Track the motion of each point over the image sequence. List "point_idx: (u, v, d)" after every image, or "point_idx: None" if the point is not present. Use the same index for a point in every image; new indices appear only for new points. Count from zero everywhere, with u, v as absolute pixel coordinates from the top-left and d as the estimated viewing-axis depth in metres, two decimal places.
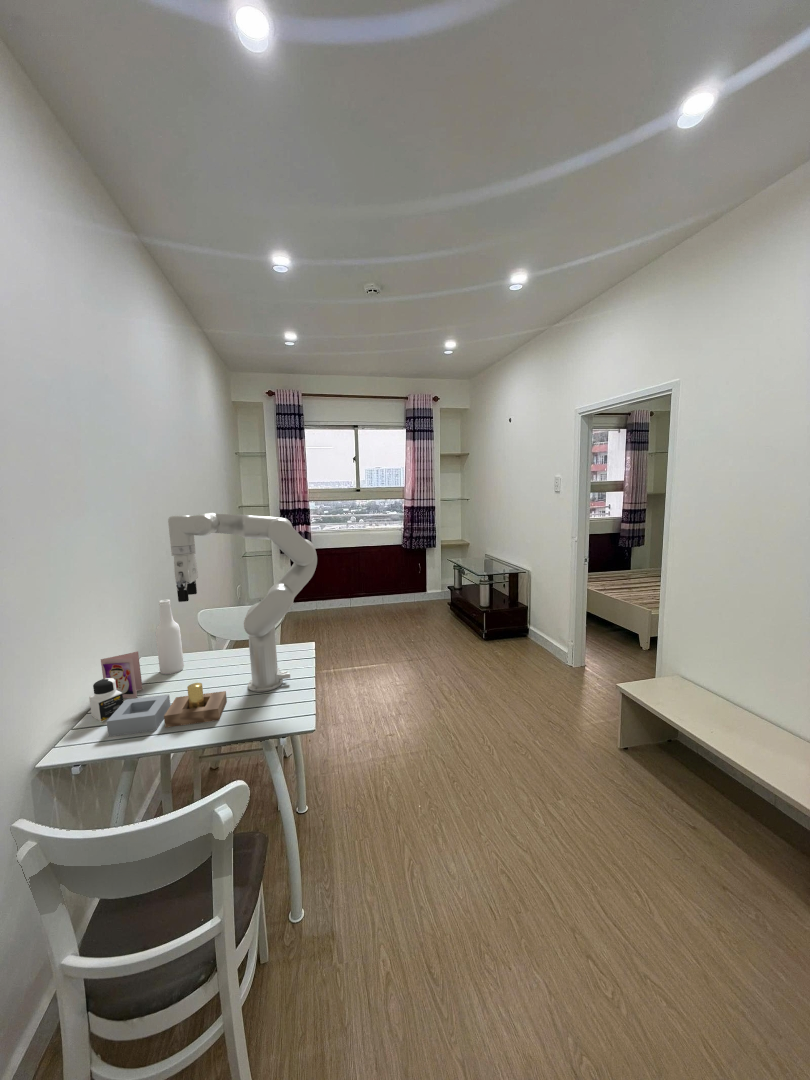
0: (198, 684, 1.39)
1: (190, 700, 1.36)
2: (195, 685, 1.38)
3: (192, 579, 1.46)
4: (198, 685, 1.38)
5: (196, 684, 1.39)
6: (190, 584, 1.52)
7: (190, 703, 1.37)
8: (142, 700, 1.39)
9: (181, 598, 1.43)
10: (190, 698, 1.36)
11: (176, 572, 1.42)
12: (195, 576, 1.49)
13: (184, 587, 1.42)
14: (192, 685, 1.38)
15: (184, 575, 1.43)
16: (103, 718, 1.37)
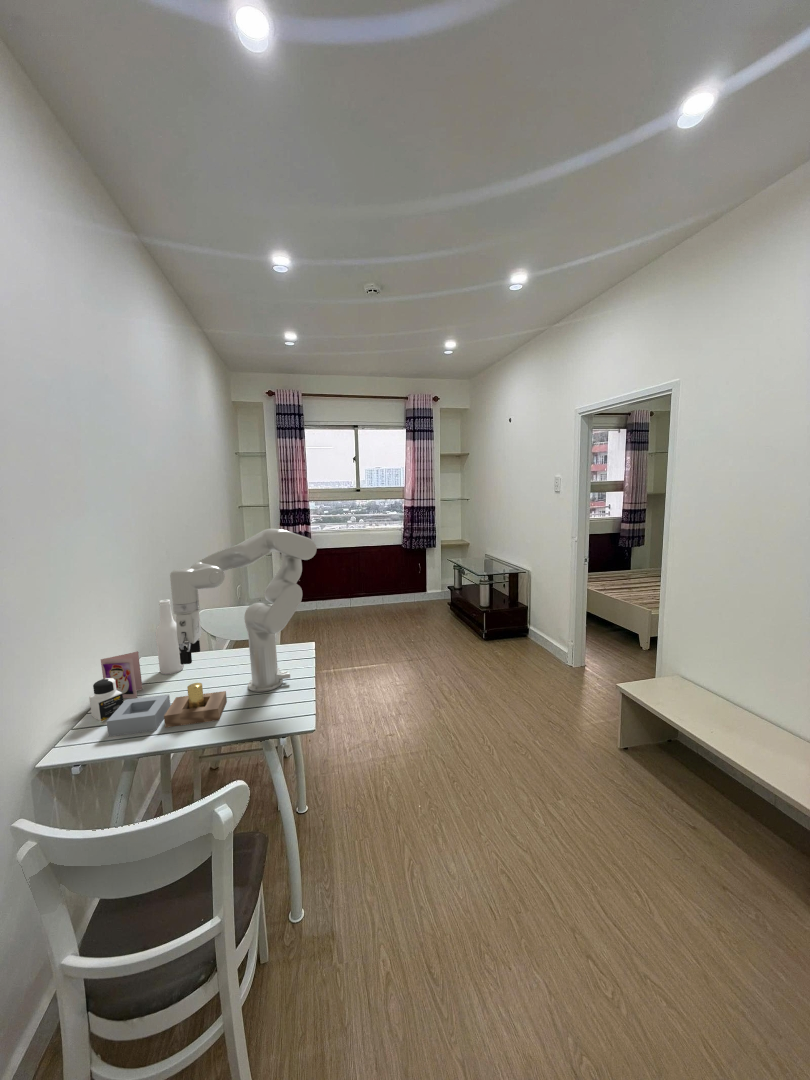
0: (198, 684, 1.39)
1: (190, 700, 1.36)
2: (195, 685, 1.38)
3: (196, 638, 1.34)
4: (198, 685, 1.38)
5: (196, 684, 1.39)
6: None
7: (190, 703, 1.37)
8: (142, 700, 1.39)
9: (184, 661, 1.30)
10: (190, 698, 1.36)
11: (178, 632, 1.30)
12: (199, 634, 1.37)
13: (187, 649, 1.30)
14: (192, 685, 1.38)
15: (188, 636, 1.31)
16: (103, 718, 1.37)
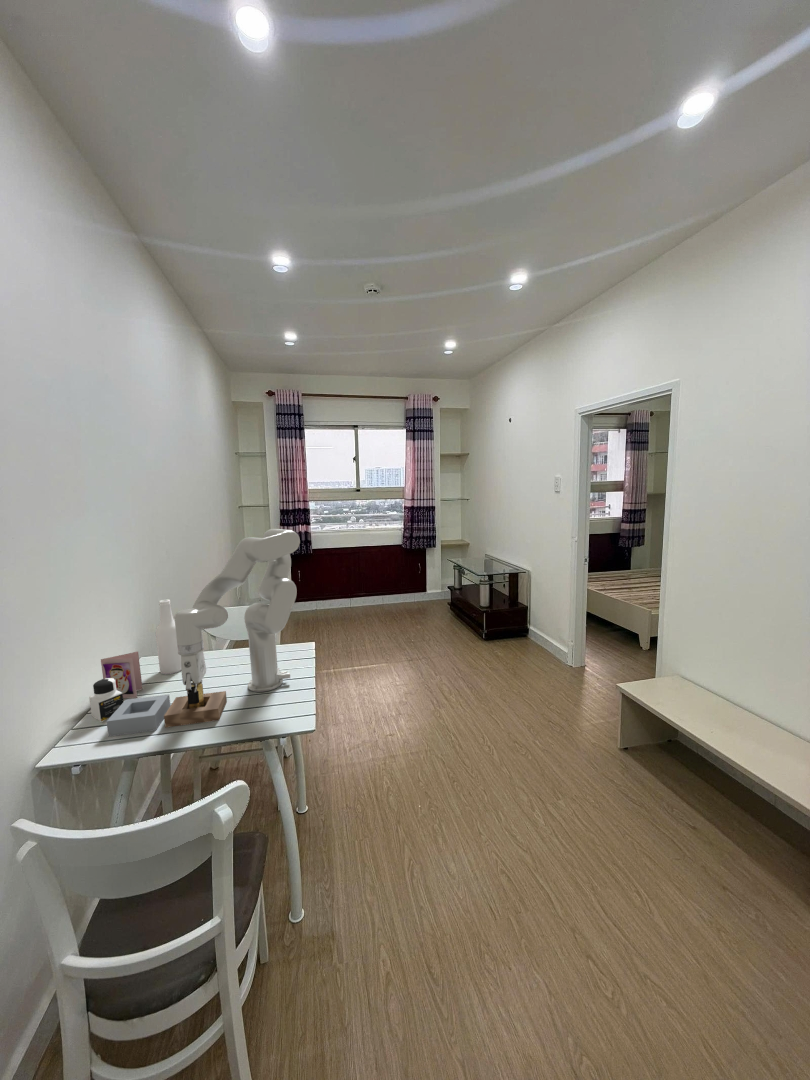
0: (198, 684, 1.39)
1: None
2: None
3: (200, 678, 1.36)
4: (198, 685, 1.38)
5: None
6: None
7: None
8: (142, 700, 1.39)
9: (191, 701, 1.35)
10: None
11: (183, 673, 1.32)
12: (203, 672, 1.39)
13: (194, 690, 1.34)
14: (192, 685, 1.38)
15: (193, 677, 1.32)
16: (103, 718, 1.37)
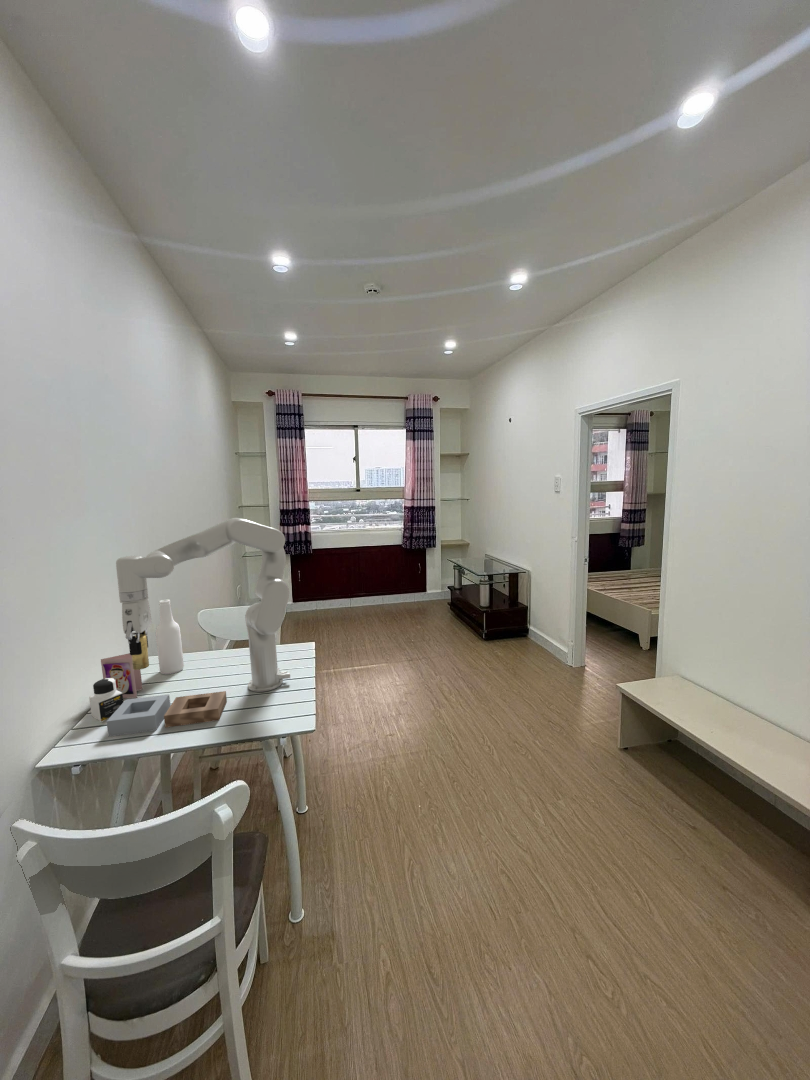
0: (142, 635, 1.33)
1: None
2: None
3: (143, 628, 1.30)
4: (141, 636, 1.32)
5: None
6: None
7: None
8: (142, 700, 1.39)
9: (133, 651, 1.29)
10: None
11: (124, 621, 1.26)
12: (148, 624, 1.33)
13: (136, 640, 1.29)
14: (135, 636, 1.33)
15: (134, 625, 1.27)
16: (103, 718, 1.37)
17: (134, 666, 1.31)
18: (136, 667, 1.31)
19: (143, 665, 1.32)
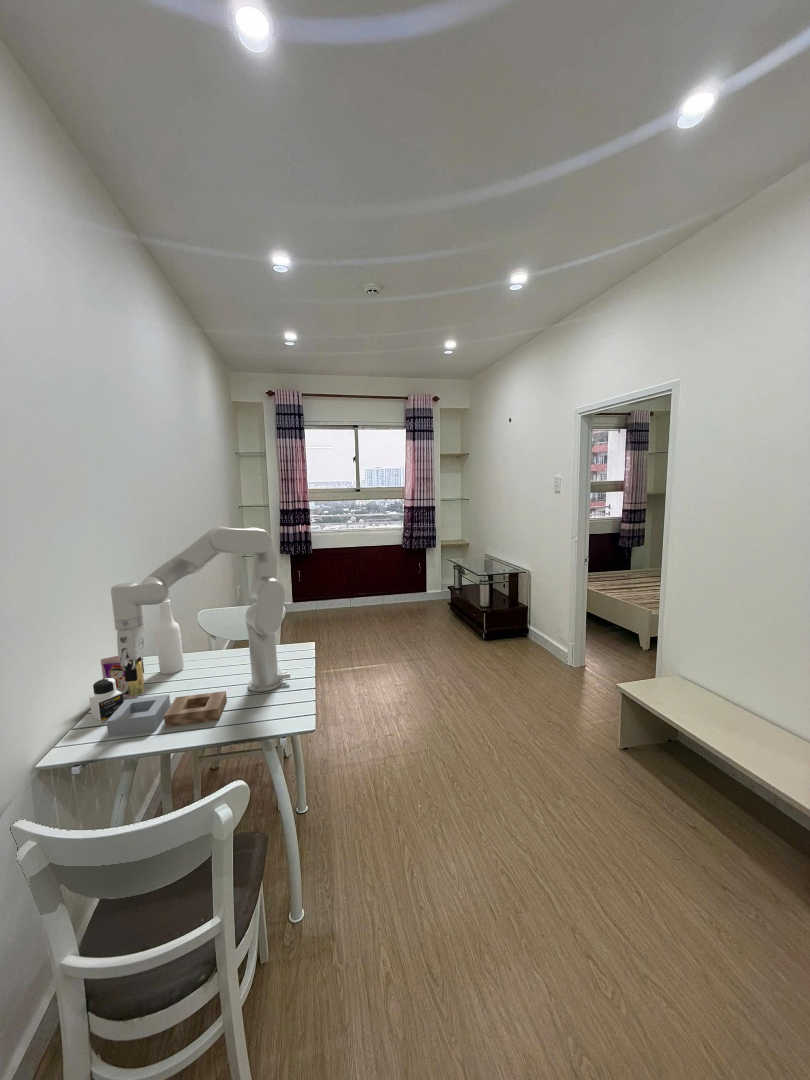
0: (137, 661, 1.34)
1: None
2: None
3: (139, 655, 1.31)
4: (137, 662, 1.33)
5: (135, 661, 1.34)
6: None
7: None
8: (142, 700, 1.39)
9: (129, 678, 1.30)
10: None
11: (119, 649, 1.27)
12: (143, 649, 1.34)
13: (132, 667, 1.29)
14: None
15: (129, 652, 1.28)
16: (103, 718, 1.37)
17: (130, 692, 1.32)
18: (132, 693, 1.32)
19: (138, 691, 1.33)
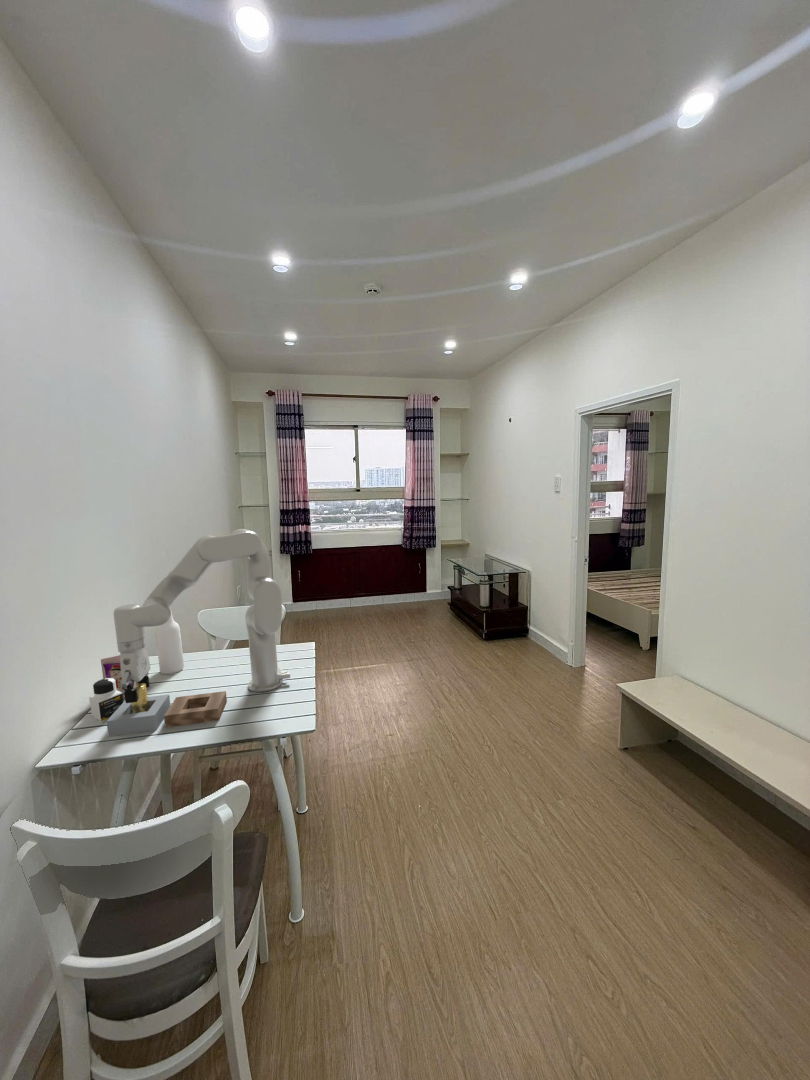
0: (141, 684, 1.35)
1: None
2: (138, 685, 1.35)
3: (142, 676, 1.32)
4: (141, 686, 1.34)
5: (139, 685, 1.35)
6: None
7: (132, 704, 1.33)
8: None
9: (128, 699, 1.29)
10: None
11: (122, 671, 1.28)
12: (146, 670, 1.35)
13: (132, 688, 1.28)
14: (135, 685, 1.35)
15: (132, 674, 1.29)
16: (103, 718, 1.37)
17: None
18: None
19: None
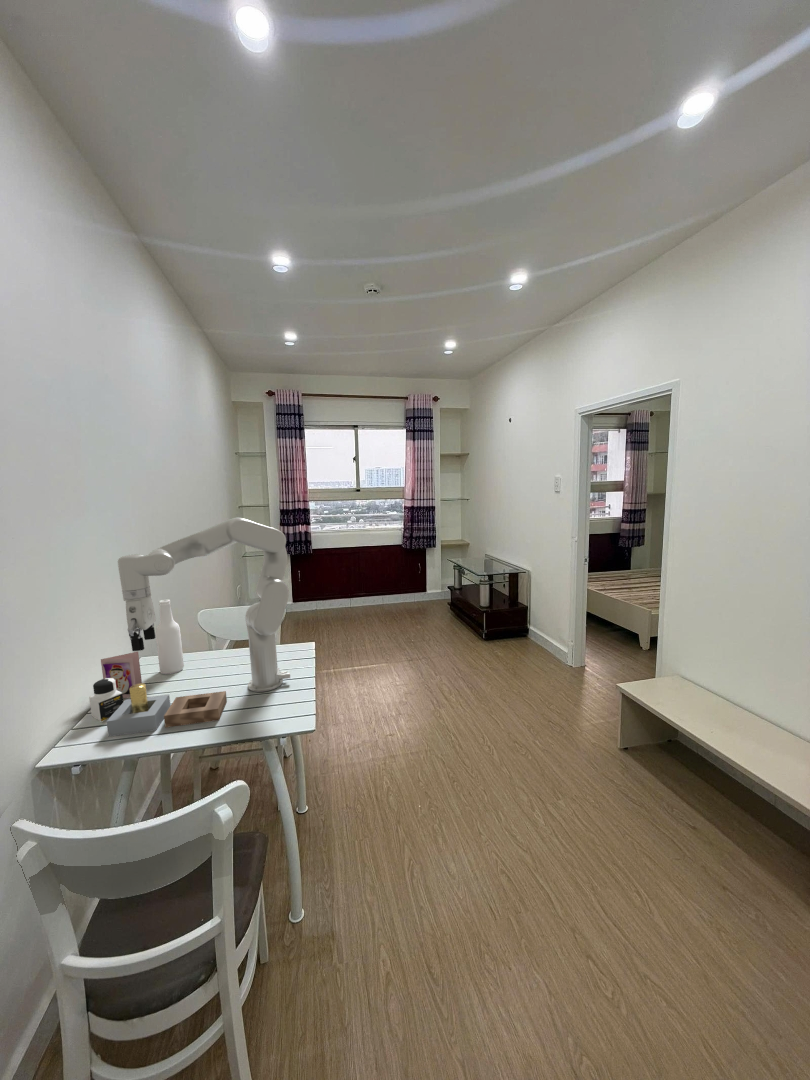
0: (141, 685, 1.35)
1: (132, 701, 1.33)
2: (138, 686, 1.35)
3: (148, 625, 1.32)
4: (141, 686, 1.34)
5: (139, 685, 1.35)
6: (147, 628, 1.39)
7: (132, 704, 1.33)
8: None
9: (135, 647, 1.29)
10: (132, 699, 1.33)
11: (128, 619, 1.29)
12: (152, 620, 1.36)
13: (138, 635, 1.29)
14: (135, 686, 1.34)
15: (138, 622, 1.29)
16: (103, 718, 1.37)
17: None
18: None
19: None
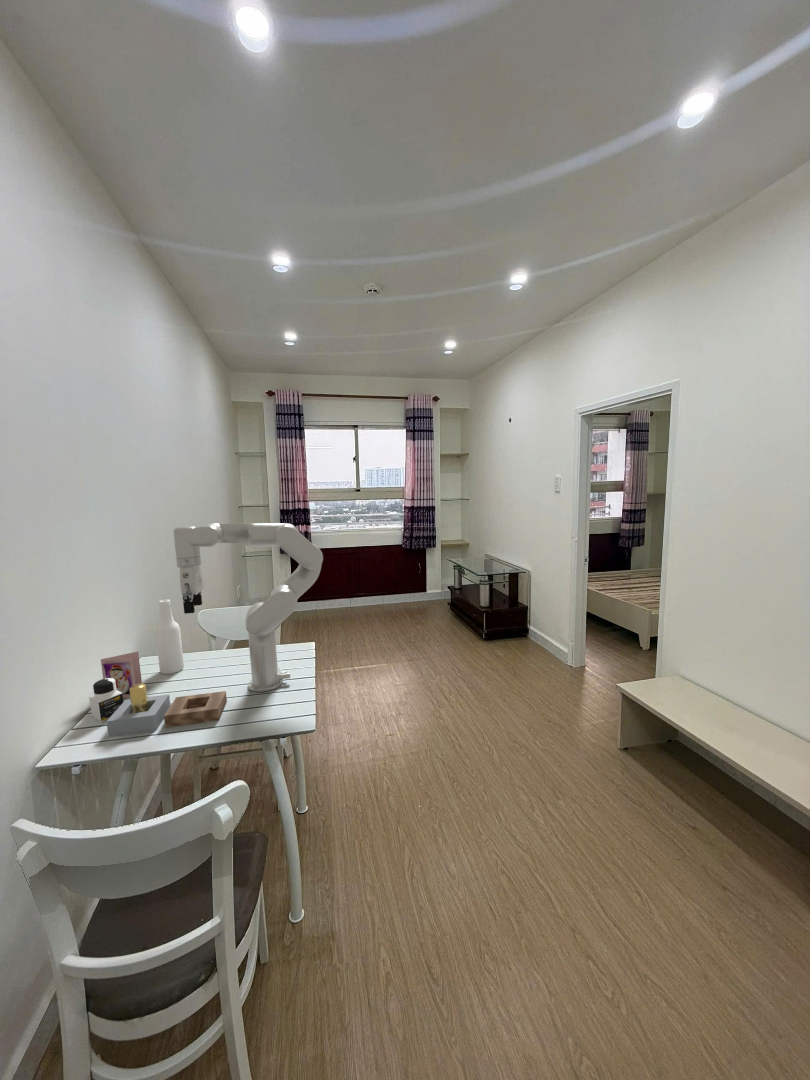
0: (141, 685, 1.35)
1: (132, 701, 1.33)
2: (138, 686, 1.35)
3: (198, 590, 1.45)
4: (141, 686, 1.34)
5: (139, 685, 1.35)
6: (195, 595, 1.52)
7: (132, 704, 1.33)
8: None
9: (187, 610, 1.42)
10: (132, 699, 1.33)
11: (182, 584, 1.42)
12: (201, 587, 1.49)
13: (190, 599, 1.42)
14: (135, 686, 1.34)
15: (190, 587, 1.42)
16: (103, 718, 1.37)
17: None
18: None
19: None
